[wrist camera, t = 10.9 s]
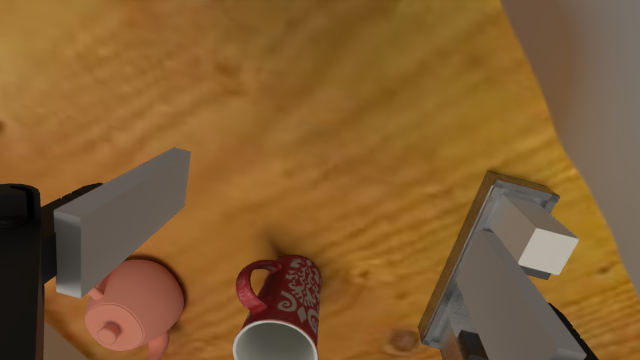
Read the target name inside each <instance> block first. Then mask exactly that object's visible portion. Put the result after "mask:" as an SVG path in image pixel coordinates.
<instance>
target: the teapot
mask: <svg viewBox="0 0 640 360" xmlns="http://www.w3.org/2000/svg"><path fill="white" fill-rule="evenodd" d="M87 294H88V295H89V296H90V297H89V300H88V304H87V308H86V313H85V324H86V327H87V329H88V331H89V332H90V334H91V335H92V336H93V337H94V339H95V340H96V341H97V342H98V343H100V344H101V345H102V346H104V347H106V348H108V349H111V350H116V351H125V350H130V349H134V348H137V347H139V346H142V345H144V344H146V343H148V345H149V357H148V360H160V359H161V358H162V356H163V354H164V353H165V351H166V349H167V346H168V343H169V329H170V328H171V327H172V326H173V325H174V324H175V323H176V322H177V320H178V319H179V317H180V316H181V314H182V312H183V308H184V298H183V294H182V291H181V288H180V286H179V284H178V282H177V281H176V279H175V278H174V276H173V275H172V274H171V273H170V272H169V271H168V270H167V269H166V268H165V267H163V266H162V265H160V264H158V263H156V262H153V261H149V260H127V261H123V262H122V263H121V264H119V265H118V266H117V267H116V268H115V269H114V270H113V271H112V272H110V273H109V274H108V275H107V276H106V277H105V278H104V279H103V280H101V281H100V282H99V283H98V284H97V285H96V286H95V287H94V288H92V289H91V290H90V291H89V292H88V293H87Z"/></svg>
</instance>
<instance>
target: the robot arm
mask: <svg viewBox="0 0 640 360" xmlns="http://www.w3.org/2000/svg"><path fill="white" fill-rule="evenodd" d="M190 155H191V152H189V151H186V150H182V149H178V148H172V149H170V150H168V151H166V152H165V153H163V154H161V155H159V156H157V157H155V158H153V159H151V160H149V161H147V162H145V163H143V164H141V165H140V166H138V167H136V168H134V169H132V170H130V171H128V172H126V173H124V174H122V175H120V176H118V177H117V178H115V179H113V180H111V181H109V182H107V183H105V184H103V183H96V184H91V185H87V186H83V187H81V188H79V189H77V190H75V191H73V192H72V193H69V194H67V195H65V196H63V197H62V199H61V198H59V199H57V200H55V201H53V202H51V203H49V204H47V205H45V206H43V207H41V205H40V192H39V190H38V189H36V188H35V187H33V186H29V185H24V184H11V183H10V184H0V360H43V349H44V302H45V290H44V284H45V283H47V282H48V281H49V280H51V279H52V278H53V277H55V276H56V292H59V293H62V294H66V295H70V296H73V297H77V298H82V297H83V296H85V295H86V294H87V293H88V292H89V291H90V290H91V289H92V288H94V287H95V286H96V285H97V284H98V283H99V282H100V281H101V280H103V279H104V278H105V277H106V276H107V275H108V274H109V273H110V272H112V271H113V270H114V269H115V268H116V267H117V266H118V265H119V264H121V263H122V262H123V261H124V260H125V259H126V258H127V257H128V256H130V255H131V254H132V253H133V252H134V251H135V250H136V249H137V248H139V247H140V246H141V245H142V244H143V243H144V242H145V241H146V240H147V239H149V238H150V237H151V236H152V235H153V234H154V233H155V232H156V231H158V230H159V229H160V228H161V227H162V226H163V225H164V224H165V223H167V222H168V221H169V220H170V219H171V218H172V217H173V216H174V215H176V214H177V213H178V212H179V211H180V210H181V209H182V208H183V207H184V206H185V198H186V189H187V180H188V172H189V163H190ZM456 282H457V285H458V287H459V289H460V292H461V294H462V297H463V299H464V301H465V304H466V306H467V308H468V311H469V313H470V316H471V318H472V320H473V323H474V325H475V327H476V330H477V332H478V335H479V337H480V339H481V342H482V344H483V346H484V349H485V351H486V354H487V356H488V358H489V360H598V358H597V357H596V356H595V354H594V353H593V352H592V351H591V349H590V348H589V347H588V345H587V344H586V343H585V342H584V340H583V339H582V338H580V335H579V334H578V333H577V331H576V330H575V329H573V326H572V325H571V323H570V322H569V321H568V320H567V318H566V317H565V316H564V315H563V314H562V313H561V312H560V311H559V310H558V309H556V308H555V307H554V306H553V305H552V304H551V303H547V301H546V300H545V299H544V297H543V296H542V295H541V293H540V292H539V291H538V289H537V288H536V287H535V285H534V284H533V283H532V281H531V280H530V279H529V277H528V276H527V275H526V273H525V272H524V271H523V269H522V268H521V267H520V265H519V264H518V263H517V261H516V260H515V259H514V257H513V256H512V254H511V253H510V252H509V250H508V249H507V248H506V246H505V245H504V244H503V242H502V241H501V240H500V238H499V237H498V236H497V234H495V233H491V232H488V231H484V230H480V229H479V230H478V232H477V234H476V237H475V239H474V241H473V243H472V245H471V247H470V249H469V252H468V254H467V256H466V258H465V260H464V262H463V265H462V267H461V269H460V271H459V273H458V275H457V278H456Z"/></svg>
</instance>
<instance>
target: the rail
mask: <svg viewBox="0 0 640 360" xmlns="http://www.w3.org/2000/svg"><path fill="white" fill-rule="evenodd" d="M502 195H507V196H511V197H514V198H518V199H522V200H526V201H530V202H534V203H537V204H539V205H540V206H541V207H542V208H544V209H545V210H546V211H547V212H548V213H549V214H550V213H551V211H552V209H553V207H554V205H555V203H557V202H558V200H559V198H560V196H559V195H558V194H556V193H555V192H553V191H552V190H551V189H549V188H548V187H546V186H543V185H540V184H536V183H532V182H528V181H524V180H521V179H517V178H513V177H509V176H506V175H502V174H498V173H494V172H491V171H487V173H486V175H485V177H484V180H483V182H482V184H481V186H480V189H479V191H478V193H477V195H476V198H475V200H474V202H473V204H472V207H471V209H470V211H469V213H468V216H467V218H466V220H465V223H464V225H463V227H462V229H461V232H460V234H459V236H458V238H457V241H456V243H455V245H454V247H453V250H452V252H451V254H450V256H449V259H448V261H447V263H446V265H445V268H444V270H443V272H442V274H441V277H440V279H439V281H438V283H437V286H436V288H435V290H434V292H433V295H432V297H431V299H430V301H429V304H428V306H427V308H426V311H425V313H424V315H423V317H422V320H421V322H420V324H419V326H418V328H419V333H420V338H421V343H422V344H423V345H427V346H431V347H434V348H438V349H440V352H441V356H442V359H443V360H489V358H488V356H487V354H486V351H485V349H484V346H483V344H482V342H481V339H480V337H479V335H478V332H477V330H476V327H475V325H474V323H473V320H472V318H471V316H470V313H469V311H468V308H467V306H466V304H465V301H464V299H463V297H462V294H461V292H460V289H459V287H458V285H457V282H456V278H457V275H458V273H459V271H460V269H461V267H462V265H463V262H464V260H465V258H466V256H467V254H468V252H469V249H470V247H471V245H472V243H473V241H474V239H475V237H476V234H477V232H478V230H479V229H480V230H484V231H488V232H491V233H494V232H493V231H492V230H491V228H490V227H489V226H488V225H489V223H490V221H491V218H492V216H493V214H494V212H495V210H496V208H497V206H498V203H499V201H500V199H501V197H502Z"/></svg>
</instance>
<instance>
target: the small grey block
mask: <svg viewBox="0 0 640 360" xmlns="http://www.w3.org/2000/svg"><path fill="white" fill-rule="evenodd" d="M488 226H489V227H490V228H491V230H492V231H493V232H494V233H495V234H497V236H498V237H499V238H500V240H501V241H502V242H503V244H504V245H505V246H506V248H507V249H508V250H509V252H510V253H511V254H512V256H513V257H514V259H515V260H516V261H517V263H518V264H519V265H520V267H521V268H522V269H523V271H524V272H525V273H526V275H530V276H533V277H537V278H541V279H545V280H548V278H549V277H550V275H551V273H552V274H555V275H559V274H560V272H561V270H562V269H563V267H564V265H565V264H566V262H567V260H568V258H569V257H570V255H571V253H572V252H573V250H574V248H575V246H576V245H577V243H578V241H579V240H580V239H579V238H577V237H576V236H575V235H574V234H573V233H572V232H570V231H569V230H568V229H567V228H566V227H565V226H563V225H562V224H561V223H560V222H559V221H558V220H556V219H555V218H554V217H553V216H552V215H551V214H549V213H548V212H547V211H546V210H545V209H544V208H542V207H541V206H540V205H539V204H537V203H534V202H530V201H526V200H522V199H518V198H514V197H511V196H507V195H502V197H501V199H500V201H499V203H498V206H497V208H496V210H495V212H494V214H493V216H492V218H491V221H490V223H489V225H488Z"/></svg>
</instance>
